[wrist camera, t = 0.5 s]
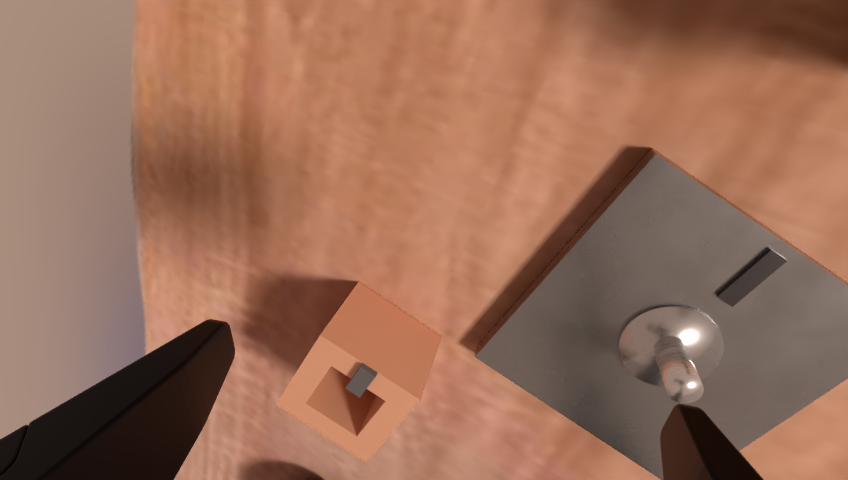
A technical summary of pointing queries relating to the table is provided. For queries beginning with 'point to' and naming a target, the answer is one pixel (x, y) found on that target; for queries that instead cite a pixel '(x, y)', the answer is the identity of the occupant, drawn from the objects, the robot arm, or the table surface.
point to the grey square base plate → (674, 319)
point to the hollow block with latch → (362, 373)
